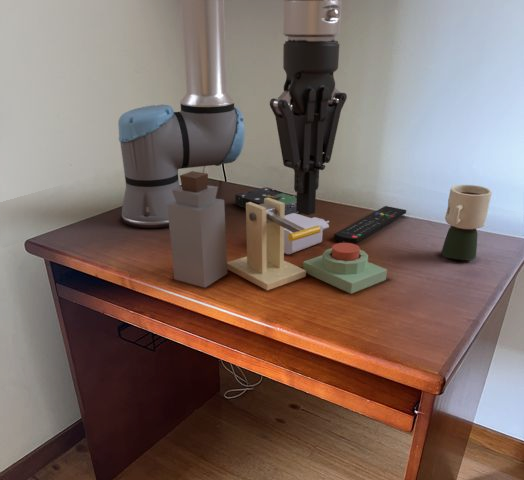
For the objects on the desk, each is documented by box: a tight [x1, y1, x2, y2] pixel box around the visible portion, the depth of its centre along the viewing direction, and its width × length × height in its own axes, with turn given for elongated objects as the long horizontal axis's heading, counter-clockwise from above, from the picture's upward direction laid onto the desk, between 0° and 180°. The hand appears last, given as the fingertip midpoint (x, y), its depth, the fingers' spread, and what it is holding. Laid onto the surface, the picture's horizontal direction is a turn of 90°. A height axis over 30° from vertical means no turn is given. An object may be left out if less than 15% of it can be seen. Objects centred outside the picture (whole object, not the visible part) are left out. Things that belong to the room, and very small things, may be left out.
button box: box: [302, 247, 388, 295], centre depth 97 cm, size 12×9×4 cm
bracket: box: [227, 198, 307, 291], centre depth 96 cm, size 12×9×13 cm
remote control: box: [333, 205, 407, 244], centre depth 119 cm, size 5×24×1 cm, turn 143°
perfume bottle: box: [167, 170, 228, 289], centre depth 93 cm, size 7×7×18 cm
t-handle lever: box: [260, 203, 320, 241], centre depth 91 cm, size 12×6×2 cm, turn 39°
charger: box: [284, 213, 330, 255], centre depth 112 cm, size 5×9×15 cm
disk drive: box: [234, 186, 298, 215], centre depth 131 cm, size 10×3×15 cm
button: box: [331, 242, 361, 261], centre depth 96 cm, size 5×5×2 cm
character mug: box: [441, 184, 493, 261], centre depth 102 cm, size 11×7×13 cm, turn 140°
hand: (305, 212), depth 86 cm, fingers closed
